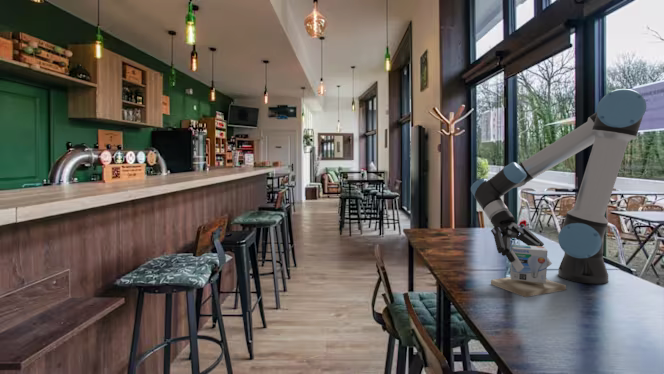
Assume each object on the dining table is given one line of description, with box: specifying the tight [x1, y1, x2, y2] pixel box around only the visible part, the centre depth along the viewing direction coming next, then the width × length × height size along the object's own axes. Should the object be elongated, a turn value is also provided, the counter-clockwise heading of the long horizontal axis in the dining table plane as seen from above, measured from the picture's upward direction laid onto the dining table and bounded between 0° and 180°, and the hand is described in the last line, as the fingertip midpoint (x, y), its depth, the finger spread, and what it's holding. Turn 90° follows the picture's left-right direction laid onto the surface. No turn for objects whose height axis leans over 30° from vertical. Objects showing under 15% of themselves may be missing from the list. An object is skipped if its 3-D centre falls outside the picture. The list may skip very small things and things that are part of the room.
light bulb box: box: [509, 244, 548, 283], centre depth 129 cm, size 11×7×11 cm, turn 68°
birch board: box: [490, 276, 567, 298], centre depth 130 cm, size 18×14×2 cm
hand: (534, 267), depth 127 cm, fingers closed on light bulb box, 12 cm apart
